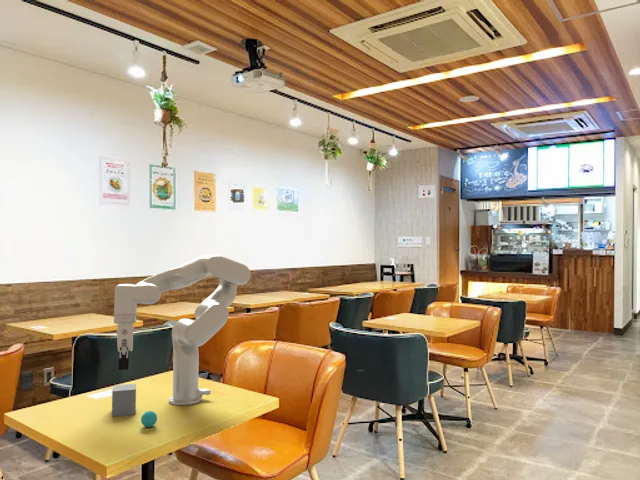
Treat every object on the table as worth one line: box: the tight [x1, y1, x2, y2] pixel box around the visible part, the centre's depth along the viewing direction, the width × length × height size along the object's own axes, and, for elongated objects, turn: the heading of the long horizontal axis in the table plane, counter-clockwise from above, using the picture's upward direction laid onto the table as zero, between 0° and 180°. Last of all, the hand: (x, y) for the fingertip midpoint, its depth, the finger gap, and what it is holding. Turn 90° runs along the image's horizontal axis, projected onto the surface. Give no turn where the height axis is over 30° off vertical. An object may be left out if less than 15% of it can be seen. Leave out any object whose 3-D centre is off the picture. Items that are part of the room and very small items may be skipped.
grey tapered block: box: [111, 383, 137, 418], centre depth 176 cm, size 8×8×9 cm
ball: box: [140, 410, 158, 428], centre depth 162 cm, size 5×5×5 cm
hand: (123, 366), depth 176 cm, fingers open, 9 cm apart
